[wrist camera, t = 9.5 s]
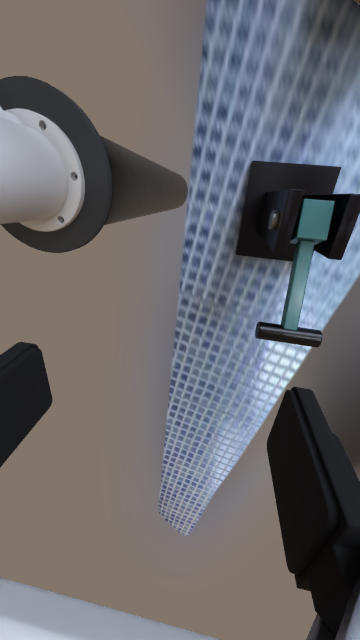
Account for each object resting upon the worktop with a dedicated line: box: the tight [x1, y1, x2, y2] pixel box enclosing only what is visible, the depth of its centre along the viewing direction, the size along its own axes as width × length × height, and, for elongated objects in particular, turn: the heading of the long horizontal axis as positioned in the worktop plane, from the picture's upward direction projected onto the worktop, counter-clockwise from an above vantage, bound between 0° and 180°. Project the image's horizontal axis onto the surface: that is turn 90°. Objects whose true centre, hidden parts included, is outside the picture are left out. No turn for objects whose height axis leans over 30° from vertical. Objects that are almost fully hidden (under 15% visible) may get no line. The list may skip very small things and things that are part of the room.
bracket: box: [235, 161, 360, 261], centre depth 23 cm, size 10×9×13 cm
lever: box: [255, 199, 335, 347], centre depth 20 cm, size 11×5×2 cm, turn 175°
